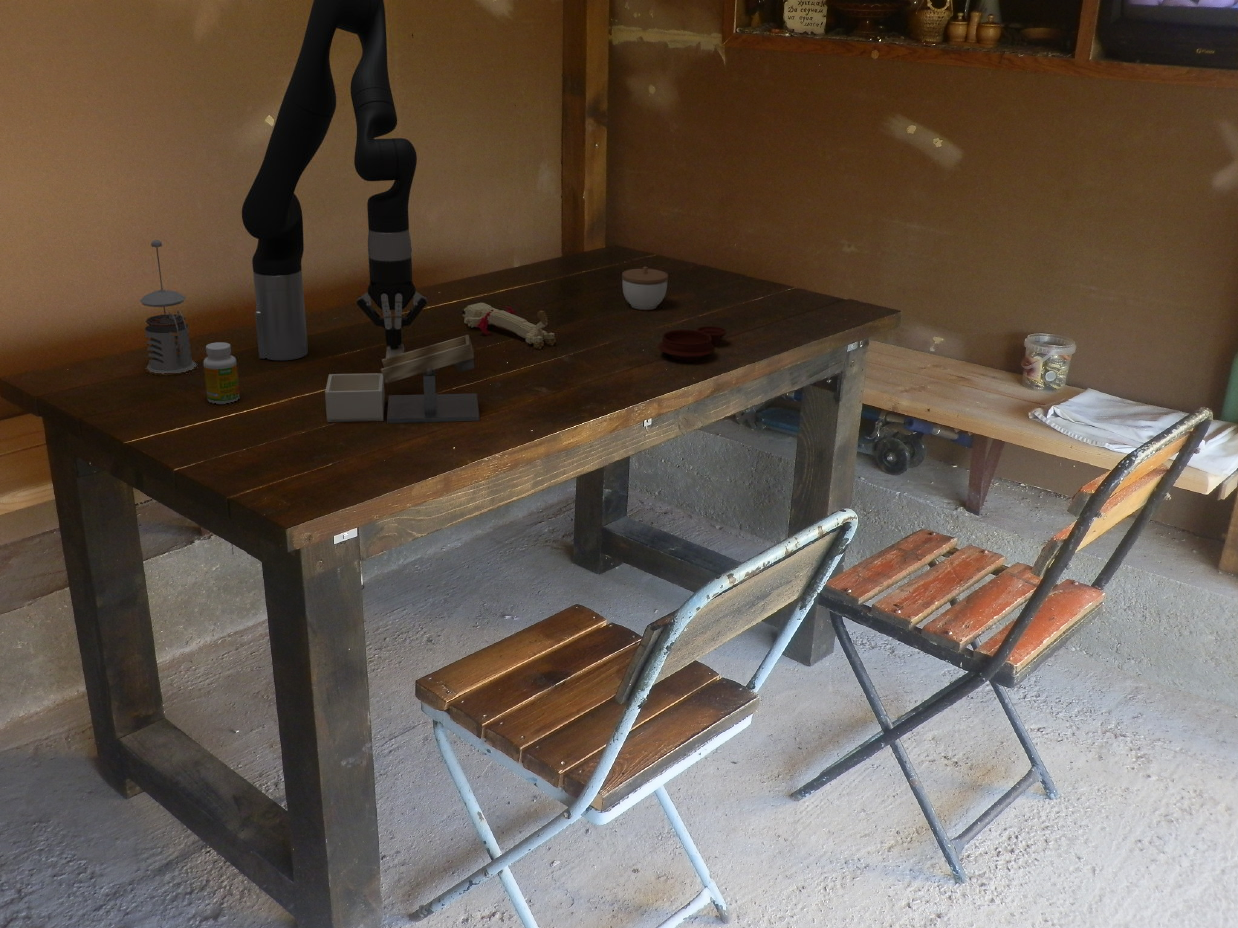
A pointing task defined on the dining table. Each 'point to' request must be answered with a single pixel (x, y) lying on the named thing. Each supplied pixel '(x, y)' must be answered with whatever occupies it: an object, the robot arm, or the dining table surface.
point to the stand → (432, 406)
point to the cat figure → (508, 323)
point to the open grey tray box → (355, 397)
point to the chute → (428, 359)
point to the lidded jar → (644, 287)
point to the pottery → (691, 342)
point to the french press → (167, 332)
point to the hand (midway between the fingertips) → (394, 347)
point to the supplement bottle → (221, 374)
